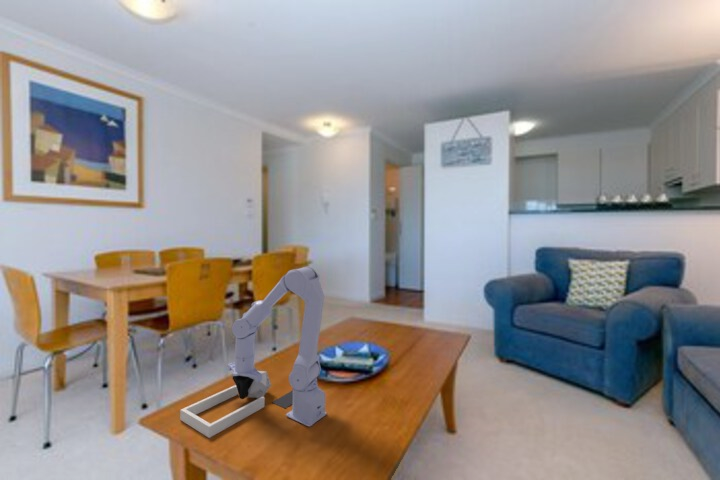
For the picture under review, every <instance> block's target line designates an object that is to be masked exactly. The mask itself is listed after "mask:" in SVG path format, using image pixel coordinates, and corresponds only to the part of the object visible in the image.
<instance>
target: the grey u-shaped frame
mask: <svg viewBox="0 0 720 480" xmlns="http://www.w3.org/2000/svg"><path fill="white" fill-rule="evenodd" d="M237 395H238V396H239V393H238V389H237V386H236V384H234V385H232V386H230V387H228V388H225V389H223V390H221V391H219V392H216V393H215V394H212V395H210V396H208V397H206V398H204V399H201V400H199V401H196V402H195V403H192V404H190V405H188V406H186V407H183V408H181V409H180V410H179V413H180V417H179V419H180V421H181V422H183V423H184V424H187V426H189V427H190V428H193V429H194V430H196V431H197V432H199V433H201V434H202V435H203V436H205V437H207V438H208V439H210V438H212V437H214V436H215V435H216V434H219V433H220V432H222V431H224V430H227V429H228V428H230V427H231V426H233V425H235V424H236V423H239V422H240V421H242V420H244V419H246V418H247V417H249V416H250V415H253V414H255V413H256V412H258V411H259V410H262V409H263V408H265V405H266V404H265V403H266V402H265V396H262V397H260V398H256V399H255V400H253V401H251V402H249V403H246V404H245V405H244V406H241V407H239V408H238V409H235V410H234V411H232V412H230V413H228V414H226V415H224V416H222V417H220V418H219V419H217V420H215V421H213V422H211V423H210V422H209V421H206V420H205V419H203V418H202V417H200V416H198V414H200V413H202V412H204V411H207V410H209V409H211V408H213V407H214V406H217V405H218V404H221V403H224V402H225V401H227V400H230V399H232V398H233V397H235V396H237Z"/></svg>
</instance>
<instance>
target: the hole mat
mask: <svg viewBox="0 0 720 480" xmlns="http://www.w3.org/2000/svg"><path fill="white" fill-rule="evenodd" d="M271 403H272V404H274V405H276V406H279V407H280V408H283V409H288V408H289V407H290V406H292V403H293V389H292V390H291V391H289V392H288V393H286V394H284V395H282V396H280V397H279V398H277V399H275V400H273V401H271Z"/></svg>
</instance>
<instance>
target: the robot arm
mask: <svg viewBox="0 0 720 480" xmlns="http://www.w3.org/2000/svg"><path fill="white" fill-rule="evenodd" d="M288 292H292V293H294V294H295V295H296V296H299V298H301V299H302V300H303V302H304V308H303V309H304V310H303V318H302V326H301V332H300V339H299V347H298V354H297V357H296V359H295V361H294V363H293V366H292V367H293V368H292V370H291V372H290V373H289V375H288V382H289V385H290V386H291V387H292V390H293V403H292V405H291V406H292V410H290V411H288V412H287V413H286V414H285V417H287V418H290V419H291V420H293V421H296V422H298V423H301V424H302V425H304V426H307V427H311V426H313V425H314V424H316V423H317V422H318V421H319V420H321V419H322V418H323V417H325V416H327V415H328V414H327V413H328V412H327V411H326V393H325V391H324V390H323V389H321V388H320V386H318V376H319V375H320V373H321V369H322V368H321V367H322V366H321V363H320V356H319V355H318V354H317V353H318V347H319V346H318V345H319V339H320V330H321V323H322V317H323V309H324V302H325V294H324V292H323V288H322V285H321V282H320V274H318V272H317V271H316V270H315V268H314V267H311V266H308V265H307V266H303V267H300V268H296V269H290V270H288V271H287V272H286V274H284V275H283V276H282V277H281V278H280V280H279V281H278V282H277V284H275V286H274V287H273V288H272V290H270V291H269V293H268V294H267V295H266V296H265V297H264V299H263V300H262V299H261V300H256V301H254V302H252V303H251V304H250V305H251V307H250V308H249V309H248V310H247V311H246V312H244V313H242V317H241V318H238V319H236V320H234V322H233V324H232V326H231V332H232V335H233V336H234V337H235V345H234V346H235V349H234V354H235V355H234V361H233V362H230V363H227V367H226V369H227V370H228V371H232V372H231V375H232V381H233V382H234V385H236V386H237V389H238V396H239V399H241V400H244V399H246V398H249V397H248V389H249V388H250V386H251V385H252V383H253V381H254V380H255V382H259V381H261V380H262V374H261V373H259V372H258V371H259V370H258V369H256V367H255V347H256V345H255V343H256V342H255V339H256V335H257V332H258V330H259V329H260V325H262V324H263V322H264V321H265V320H266V319H267V318H268V317H269V316H270V315H271V314H272V307H273V306H274V305H276V303H277V302H279V301H280V300H281V299H282V298H283V297H284V296H285V295H286V294H287V293H288Z"/></svg>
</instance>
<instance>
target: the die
mask: <svg viewBox="0 0 720 480" xmlns="http://www.w3.org/2000/svg"><path fill="white" fill-rule="evenodd" d="M257 371H258V372H259V373H261V374H262V380H261V381H259V382H255V380H254V381H253V383H252V385H251V386H250V388H249V389H248V397H247V398H252V399H253V398H254V399H258V398H260V397H262V396H263V397H265V395H266V393H267V392H268V391H269V389H270V388H271V387H272V383H271V381H270V380H271V379H270V377H269V374H268V372H267V371H266V370H265V371H264V370H257Z"/></svg>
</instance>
